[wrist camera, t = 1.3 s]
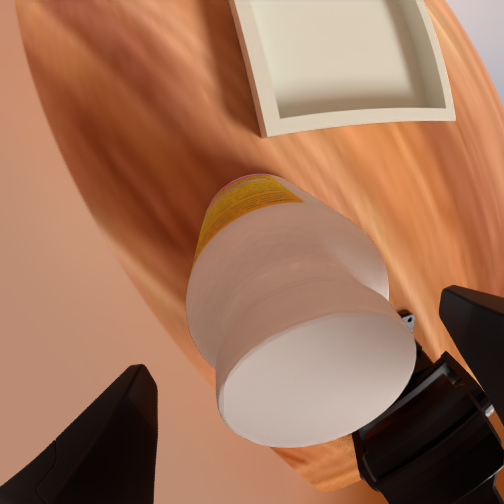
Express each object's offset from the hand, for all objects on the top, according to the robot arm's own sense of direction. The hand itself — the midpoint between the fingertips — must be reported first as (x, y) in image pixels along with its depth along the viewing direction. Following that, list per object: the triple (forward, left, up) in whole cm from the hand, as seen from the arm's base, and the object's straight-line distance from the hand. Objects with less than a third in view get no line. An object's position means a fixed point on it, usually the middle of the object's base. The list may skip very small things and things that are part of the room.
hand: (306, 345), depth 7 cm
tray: (+12, -7, -11) cm, 18 cm away
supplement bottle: (0, 0, -11) cm, 11 cm away
